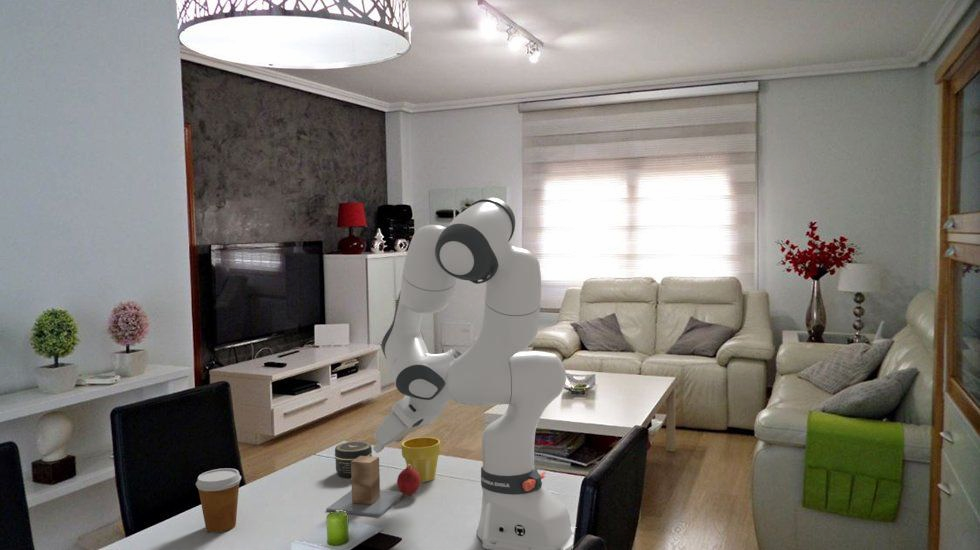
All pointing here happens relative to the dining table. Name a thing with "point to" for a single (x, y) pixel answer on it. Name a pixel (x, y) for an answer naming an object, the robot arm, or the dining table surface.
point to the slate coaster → (374, 509)
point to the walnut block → (365, 480)
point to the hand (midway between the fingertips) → (386, 445)
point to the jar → (350, 456)
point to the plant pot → (422, 455)
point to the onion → (408, 481)
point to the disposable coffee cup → (219, 498)
